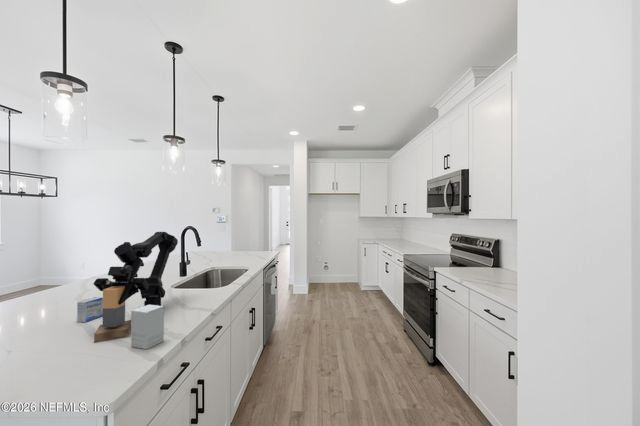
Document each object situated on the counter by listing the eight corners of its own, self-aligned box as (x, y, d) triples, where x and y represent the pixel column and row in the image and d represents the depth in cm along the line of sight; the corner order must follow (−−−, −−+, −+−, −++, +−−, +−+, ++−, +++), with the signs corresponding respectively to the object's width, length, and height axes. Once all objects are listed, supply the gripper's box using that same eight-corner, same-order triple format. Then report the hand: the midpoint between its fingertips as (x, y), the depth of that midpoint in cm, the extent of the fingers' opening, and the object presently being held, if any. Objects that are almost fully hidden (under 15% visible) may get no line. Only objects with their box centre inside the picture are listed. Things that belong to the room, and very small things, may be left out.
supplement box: (164, 340, 102) (164, 305, 102) (145, 349, 95) (146, 312, 95) (149, 337, 104) (149, 303, 104) (130, 346, 97) (130, 310, 97)
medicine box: (85, 322, 119) (85, 302, 119) (76, 322, 120) (77, 301, 120) (103, 316, 127) (103, 297, 127) (94, 315, 127) (95, 296, 128)
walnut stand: (131, 327, 114) (131, 320, 114) (127, 336, 105) (127, 328, 105) (100, 332, 109) (100, 324, 109) (94, 342, 100) (94, 334, 100)
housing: (111, 322, 109) (112, 286, 110) (125, 322, 110) (125, 286, 110) (102, 327, 104) (102, 289, 105) (116, 327, 105) (116, 289, 105)
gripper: (97, 258, 111) (73, 293, 100) (145, 257, 112) (127, 293, 100) (110, 273, 118) (90, 308, 107) (155, 273, 119) (140, 307, 108)
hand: (111, 304), depth 106 cm, fingers closed on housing, 5 cm apart
